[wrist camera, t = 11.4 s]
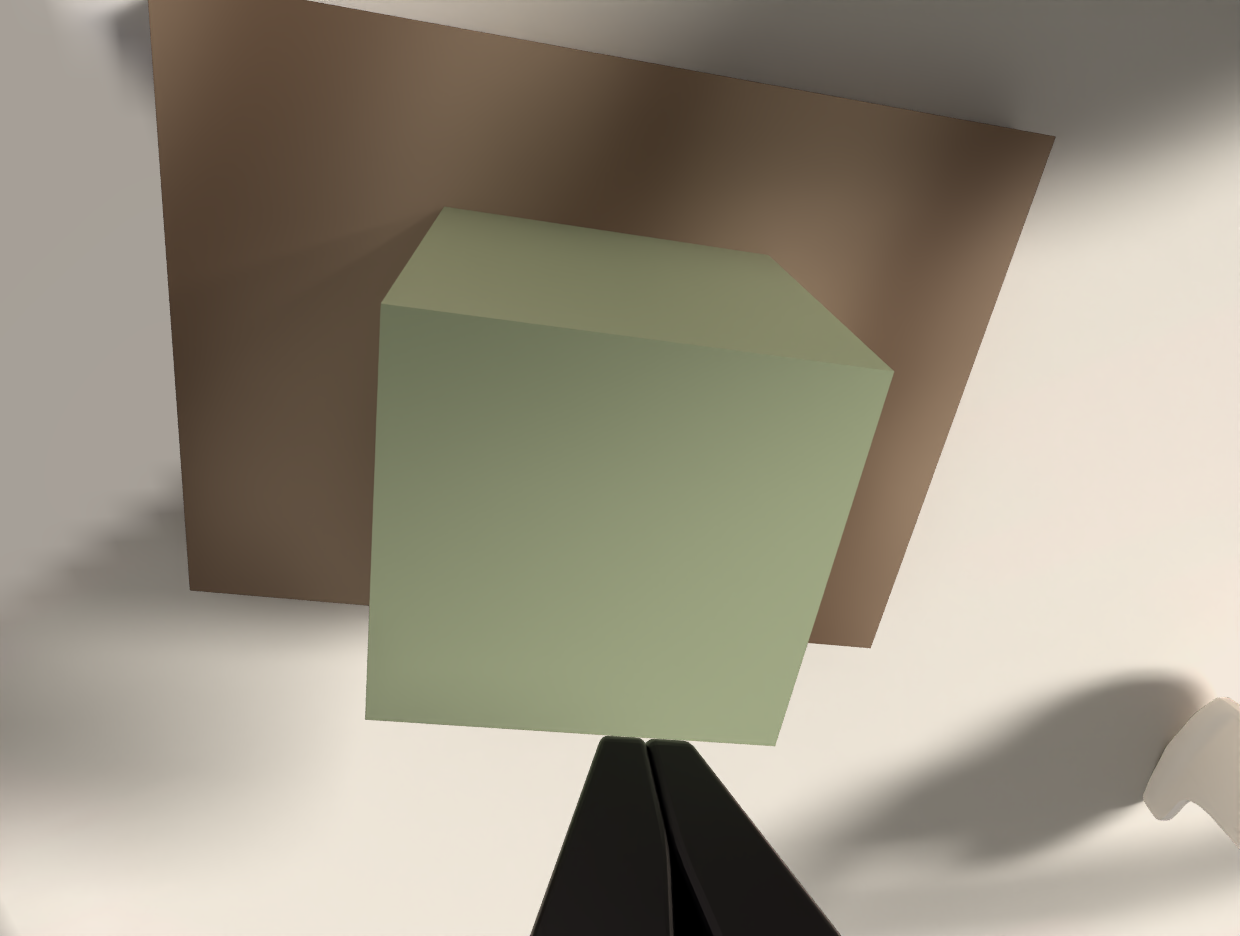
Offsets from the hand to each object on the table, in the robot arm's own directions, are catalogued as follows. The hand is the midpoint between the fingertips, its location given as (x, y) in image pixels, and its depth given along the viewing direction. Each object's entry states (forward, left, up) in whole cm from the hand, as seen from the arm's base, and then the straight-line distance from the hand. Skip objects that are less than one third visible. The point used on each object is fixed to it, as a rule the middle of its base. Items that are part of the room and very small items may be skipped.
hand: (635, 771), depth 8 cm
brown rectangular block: (0, 0, -12) cm, 12 cm away
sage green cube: (0, 0, -10) cm, 10 cm away
